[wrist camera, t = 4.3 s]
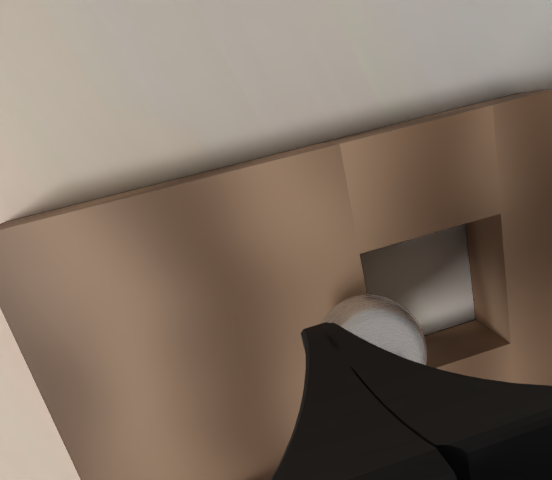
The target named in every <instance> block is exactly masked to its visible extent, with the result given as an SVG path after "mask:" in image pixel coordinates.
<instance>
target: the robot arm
mask: <svg viewBox="0 0 552 480" xmlns="http://www.w3.org/2000/svg"><path fill="white" fill-rule="evenodd" d="M301 338H302V342H303V346H304V350H305V354H306V371H305V381H304V390H303V396H302V401H301V405H300V410H299V413H298V417H297V420H296V424H295V427H294V430H293V433H292V436H291V438H290V441H289V443H288V445H287V448H286V450H285V452H284V455H283V457H282V459H281V461H280V463H279V465H278V467H277V469H276V471H275V473H274V475H273V476H272V478H271V480H552V386H550V385H535V384H521V383H510V382H503V381H496V380H489V379H482V378H477V377H471V376H466V375H462V374H457V373H453V372H449V371H444V370H441V369H437V368H433V367H430V366H427V365H424V364H421V363H418V362H414V361H411V360H409V359H406V358H403V357H401V356H398V355H396V354H394V353H391V352H389V351H387V350H384V349H382V348H380V347H378V346H376V345H374V344H372V343H370V342H368V341H366V340H364V339H362V338H360V337H358V336H356V335H355V334H353V333H351V332H349V331H348V330H346V329H344V328H342V327H341V326H339V325H337V324H335V323H328V322H325V323H322V324H318V325H315V326H312V327H309V328H305V329H303V330H302V332H301Z"/></svg>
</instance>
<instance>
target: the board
mask: <svg viewBox="0 0 552 480" xmlns="http://www.w3.org/2000/svg"><path fill="white" fill-rule="evenodd" d="M462 224H466V231H467V241H468V251H469V261H470V271H471V281H472V291H473V301H474V310H475V320H474V321H471V322H468V323H464V324H461V325H458V326H455V327H452V328H449V329H445V330H442V331H439V332H436V333H433V334H430V335H426V336H425V341H426V345H427V363H426V365H427V366H430V367H433V368H437V369H441V370H444V371H449V372H453V373H457V374H462V375H466V376H471V377H477V378H482V379H489V380H496V381H503V382H510V383H521V384H535V385H550V386H552V89H546V90H538V91H531V92H524V93H517V94H513V95H509V96H505V97H501V98H497V99H493V100H489V101H485V102H481V103H477V104H473V105H469V106H465V107H461V108H457V109H453V110H449V111H445V112H441V113H437V114H433V115H429V116H425V117H421V118H417V119H413V120H410V121H406V122H402V123H398V124H394V125H390V126H386V127H382V128H378V129H374V130H370V131H366V132H362V133H358V134H354V135H350V136H346V137H342V138H338V139H334V140H330V141H326V142H322V143H318V144H314V145H310V146H306V147H302V148H298V149H294V150H290V151H286V152H282V153H278V154H274V155H270V156H266V157H262V158H259V159H255V160H251V161H247V162H243V163H239V164H235V165H231V166H227V167H223V168H219V169H215V170H211V171H207V172H203V173H199V174H195V175H191V176H187V177H183V178H179V179H175V180H171V181H167V182H163V183H159V184H155V185H151V186H147V187H143V188H139V189H135V190H131V191H127V192H123V193H119V194H115V195H111V196H108V197H104V198H100V199H96V200H92V201H88V202H84V203H80V204H76V205H72V206H68V207H64V208H60V209H56V210H52V211H48V212H44V213H40V214H36V215H32V216H28V217H24V218H20V219H16V220H12V221H8V222H4V223H1V224H0V308H1V310H2V312H3V314H4V316H5V319H6V321H7V323H8V325H9V327H10V329H11V331H12V333H13V336H14V338H15V340H16V342H17V344H18V346H19V348H20V351H21V353H22V355H23V357H24V359H25V361H26V363H27V366H28V368H29V370H30V372H31V374H32V376H33V378H34V381H35V383H36V385H37V387H38V389H39V391H40V393H41V396H42V398H43V400H44V402H45V404H46V406H47V408H48V410H49V413H50V415H51V417H52V419H53V421H54V423H55V425H56V428H57V430H58V432H59V434H60V436H61V438H62V440H63V443H64V445H65V447H66V449H67V451H68V453H69V455H70V458H71V460H72V462H73V464H74V466H75V468H76V470H77V473H78V475H79V477H80V479H81V480H271V478H272V476H273V475H274V473H275V471H276V469H277V467H278V465H279V463H280V461H281V459H282V457H283V455H284V452H285V450H286V448H287V445H288V443H289V441H290V438H291V436H292V433H293V430H294V427H295V424H296V420H297V417H298V413H299V410H300V405H301V401H302V396H303V390H304V381H305V371H306V354H305V350H304V346H303V342H302V338H301V332H302V330H303V329H305V328H309V327H312V326H315V325H318V324H321V322H322V321H323V319H324V317H325V316H326V315H327V313H328V312H329V311H330V310H331V309H332V308H333V307H334V306H335V305H337V304H338V303H340V302H341V301H343V300H345V299H347V298H350V297H353V296H357V295H364V294H367V291H366V286H365V280H364V275H363V269H362V264H361V258H360V254H361V253H365V252H368V251H372V250H375V249H378V248H382V247H385V246H389V245H392V244H396V243H399V242H403V241H406V240H410V239H413V238H417V237H420V236H424V235H427V234H431V233H434V232H438V231H441V230H445V229H448V228H452V227H455V226H459V225H462Z"/></svg>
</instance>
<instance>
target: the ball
mask: <svg viewBox="0 0 552 480" xmlns="http://www.w3.org/2000/svg"><path fill="white" fill-rule="evenodd" d="M325 322H328V323H335V324H337V325H339V326H341V327H342V328H344V329H346V330H348V331H349V332H351V333H353V334H355V335H356V336H358V337H360V338H362V339H364V340H366V341H368V342H370V343H372V344H374V345H376V346H378V347H380V348H382V349H384V350H387V351H389V352H391V353H394V354H396V355H398V356H401V357H403V358H406V359H409V360H411V361H414V362H418V363H421V364H424V365H426V363H427V345H426V341H425V336H424V334H423V332H422V329H421V327H420V325H419V324H418V322H417V320H416V319H415V317H414V316H413V315H412V314H411V313H410V312H409V311H408V310H407V309H406V308H405V307H403V306H402V305H400V304H399V303H397V302H396V301H394V300H392V299H389V298H387V297H383V296H380V295H372V294H364V295H357V296H353V297H350V298H347V299H345V300H343V301H341V302H340V303H338V304H337V305H335V306H334V307H333V308H332V309H331V310H330V311H329V312H328V313H327V315H326V316H325V317H324V319H323V321H322V322H321V324H322V323H325Z"/></svg>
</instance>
